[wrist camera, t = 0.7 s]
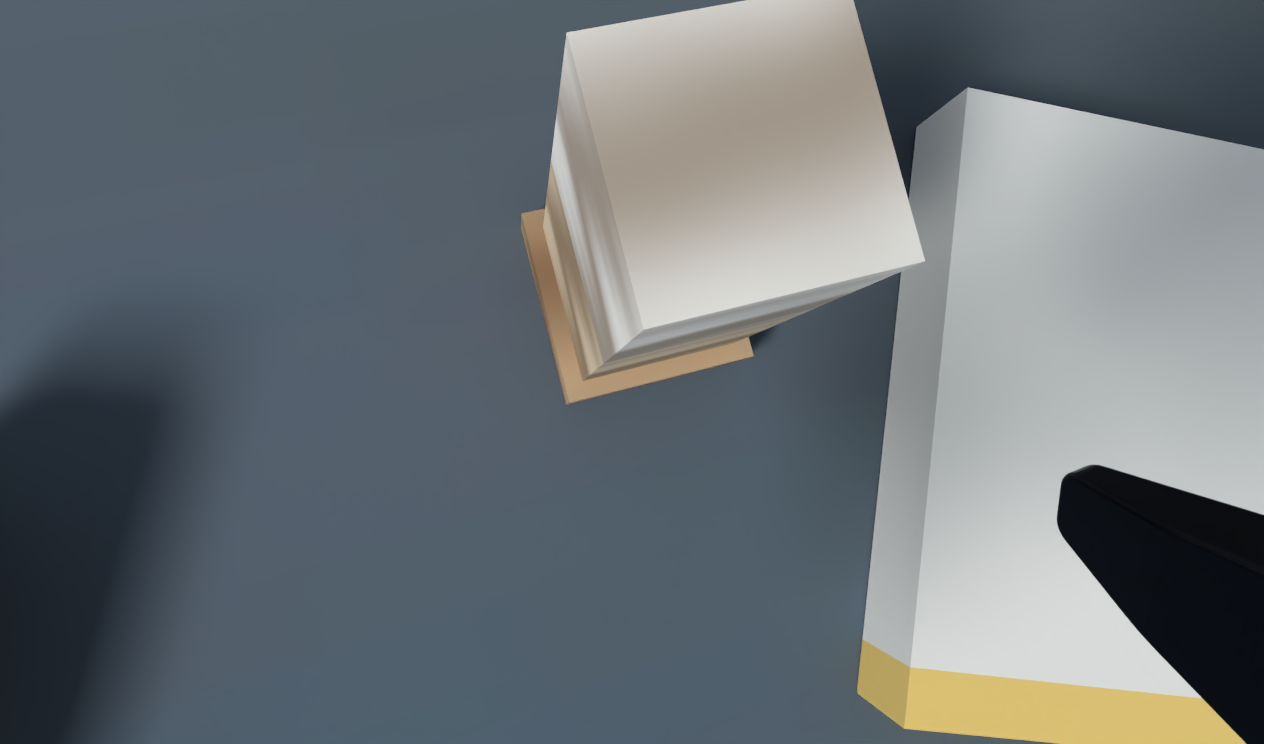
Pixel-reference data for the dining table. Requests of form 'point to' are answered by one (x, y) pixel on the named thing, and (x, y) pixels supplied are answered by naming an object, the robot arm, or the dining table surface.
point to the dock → (1056, 411)
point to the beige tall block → (711, 188)
